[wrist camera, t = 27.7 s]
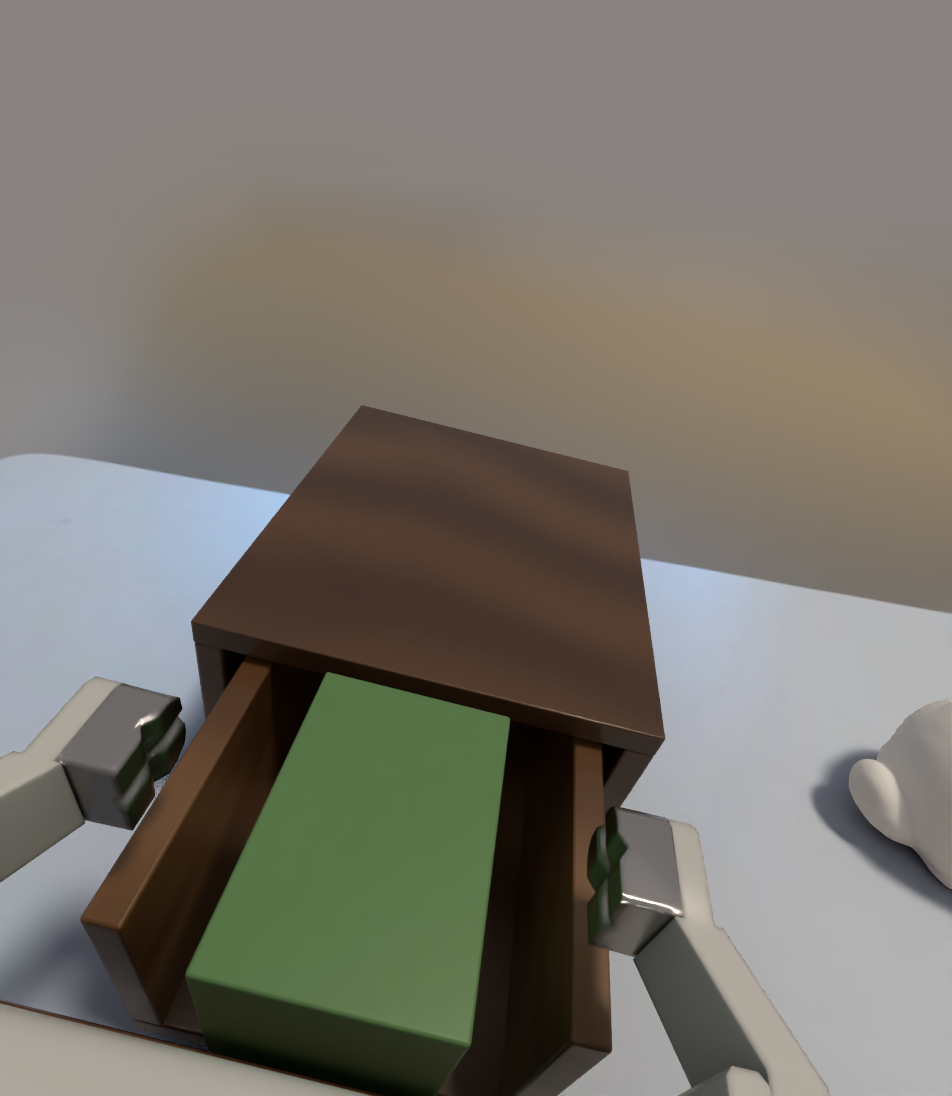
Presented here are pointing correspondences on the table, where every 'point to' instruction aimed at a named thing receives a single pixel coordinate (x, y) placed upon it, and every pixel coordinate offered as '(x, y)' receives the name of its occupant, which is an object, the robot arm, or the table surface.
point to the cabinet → (454, 585)
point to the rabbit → (913, 787)
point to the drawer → (513, 907)
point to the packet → (361, 896)
